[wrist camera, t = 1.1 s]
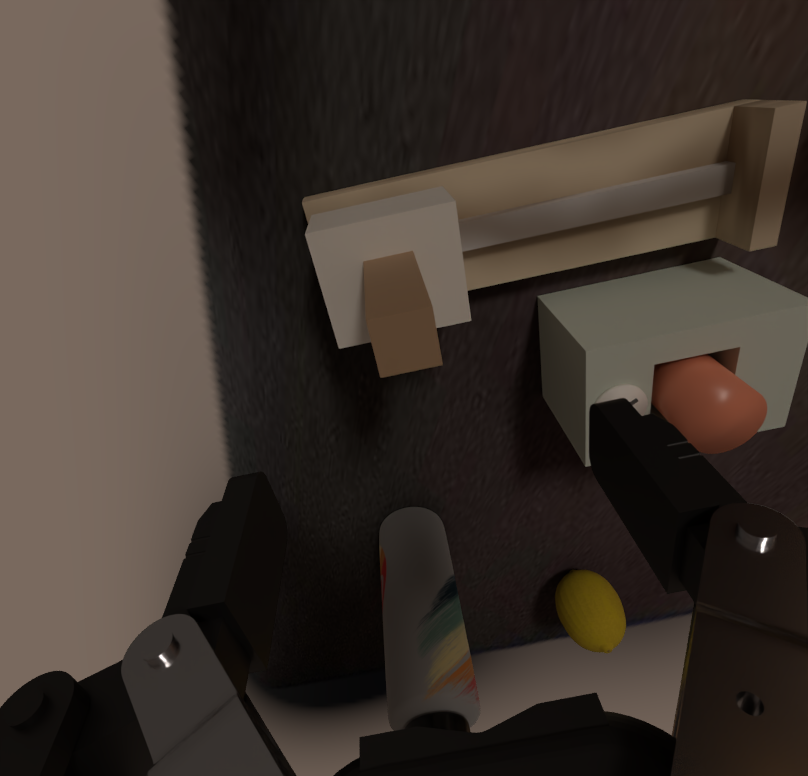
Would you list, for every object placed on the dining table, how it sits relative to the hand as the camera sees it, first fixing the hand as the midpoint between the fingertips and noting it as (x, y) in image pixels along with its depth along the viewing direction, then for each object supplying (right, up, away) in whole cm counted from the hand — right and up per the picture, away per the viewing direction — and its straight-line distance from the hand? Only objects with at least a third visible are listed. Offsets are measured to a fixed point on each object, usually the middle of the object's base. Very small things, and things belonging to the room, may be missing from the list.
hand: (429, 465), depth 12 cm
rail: (+7, +12, +17) cm, 22 cm away
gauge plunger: (+15, +3, +18) cm, 24 cm away
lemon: (+16, -16, +35) cm, 42 cm away
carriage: (-1, +9, +15) cm, 18 cm away
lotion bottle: (0, -10, +31) cm, 32 cm away
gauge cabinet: (+15, +6, +22) cm, 27 cm away
